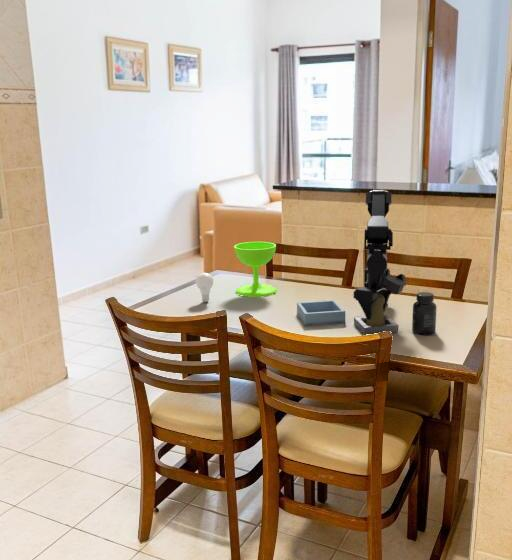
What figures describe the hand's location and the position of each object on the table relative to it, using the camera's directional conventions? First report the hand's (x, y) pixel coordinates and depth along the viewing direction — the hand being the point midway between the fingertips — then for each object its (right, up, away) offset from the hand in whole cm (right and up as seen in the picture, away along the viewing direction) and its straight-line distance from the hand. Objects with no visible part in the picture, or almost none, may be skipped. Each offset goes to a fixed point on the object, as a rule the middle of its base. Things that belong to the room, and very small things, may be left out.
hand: (375, 315), depth 188 cm
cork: (0, -4, +1) cm, 5 cm away
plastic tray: (-16, -2, +13) cm, 20 cm away
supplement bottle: (+14, -5, -3) cm, 15 cm away
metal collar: (0, -4, +1) cm, 4 cm away
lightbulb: (-55, +3, +35) cm, 65 cm away
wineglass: (-37, +6, +47) cm, 60 cm away
